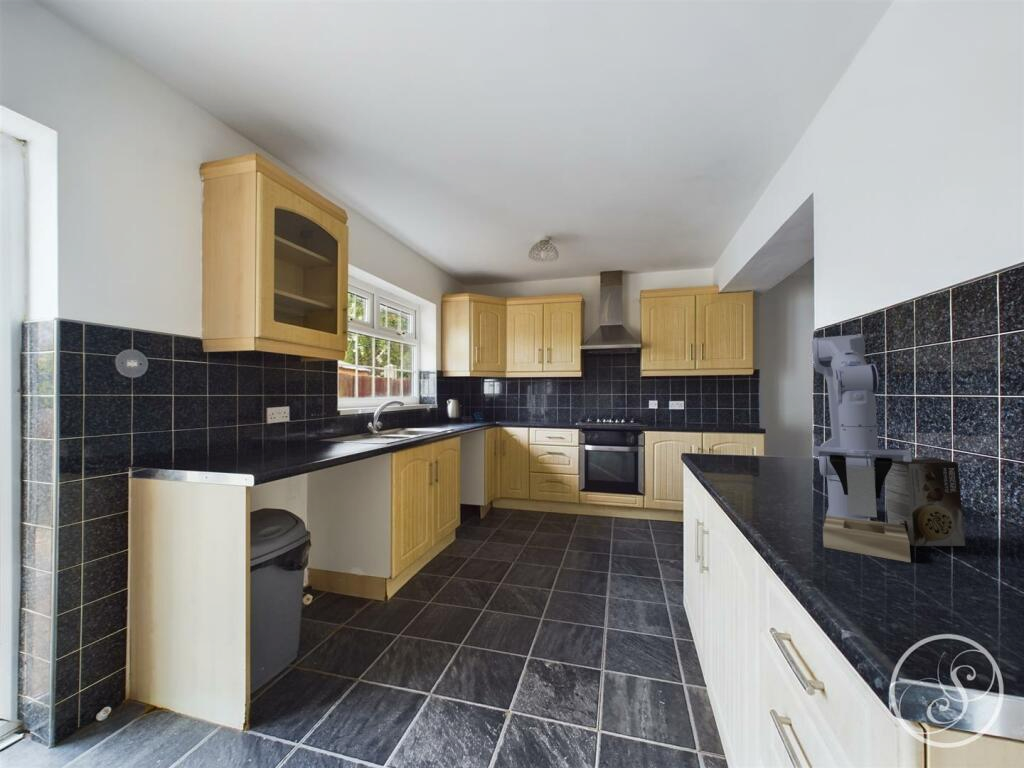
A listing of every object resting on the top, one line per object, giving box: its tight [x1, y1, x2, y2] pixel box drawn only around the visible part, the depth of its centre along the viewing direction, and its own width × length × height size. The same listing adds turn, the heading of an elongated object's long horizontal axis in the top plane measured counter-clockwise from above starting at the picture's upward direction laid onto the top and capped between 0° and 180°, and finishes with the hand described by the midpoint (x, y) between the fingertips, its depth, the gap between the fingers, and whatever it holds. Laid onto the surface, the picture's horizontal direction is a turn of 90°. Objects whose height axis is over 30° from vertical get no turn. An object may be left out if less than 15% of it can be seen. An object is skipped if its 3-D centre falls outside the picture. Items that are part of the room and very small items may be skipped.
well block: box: [822, 515, 912, 563], centre depth 78 cm, size 12×12×4 cm
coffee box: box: [884, 457, 966, 547], centre depth 80 cm, size 9×6×16 cm
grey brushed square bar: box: [847, 465, 878, 518], centre depth 79 cm, size 4×4×9 cm
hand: (861, 495), depth 79 cm, fingers closed on grey brushed square bar, 4 cm apart
